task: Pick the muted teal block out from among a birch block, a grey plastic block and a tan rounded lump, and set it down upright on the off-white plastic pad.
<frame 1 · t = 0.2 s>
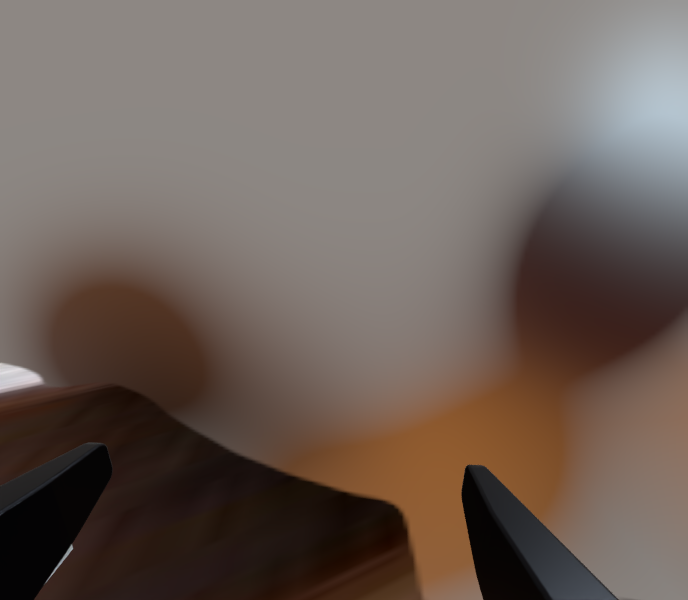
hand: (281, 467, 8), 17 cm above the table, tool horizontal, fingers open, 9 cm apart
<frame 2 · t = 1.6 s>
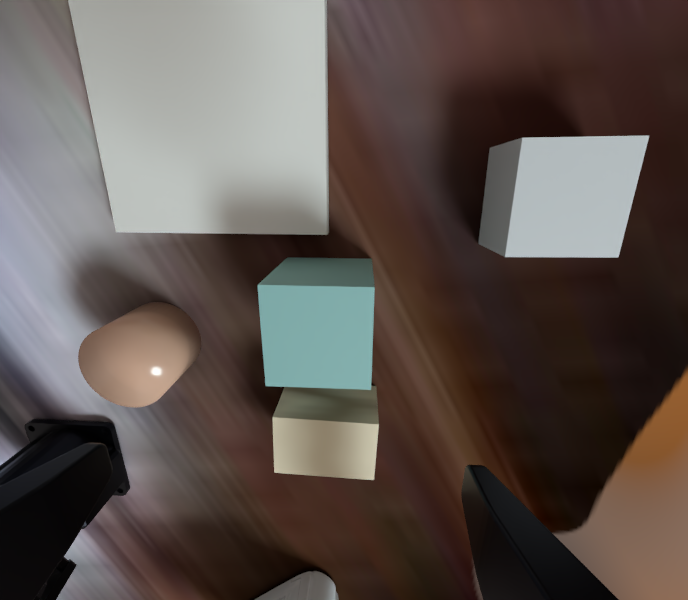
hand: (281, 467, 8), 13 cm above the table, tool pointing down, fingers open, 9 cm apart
photo printer: (287, 595, 30), on the table
birch block: (330, 407, 23), on the table
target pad: (214, 116, 18), on the table
tan rounded lump: (164, 337, 22), on the table
teal block: (329, 297, 21), on the table
grey block: (529, 197, 18), on the table
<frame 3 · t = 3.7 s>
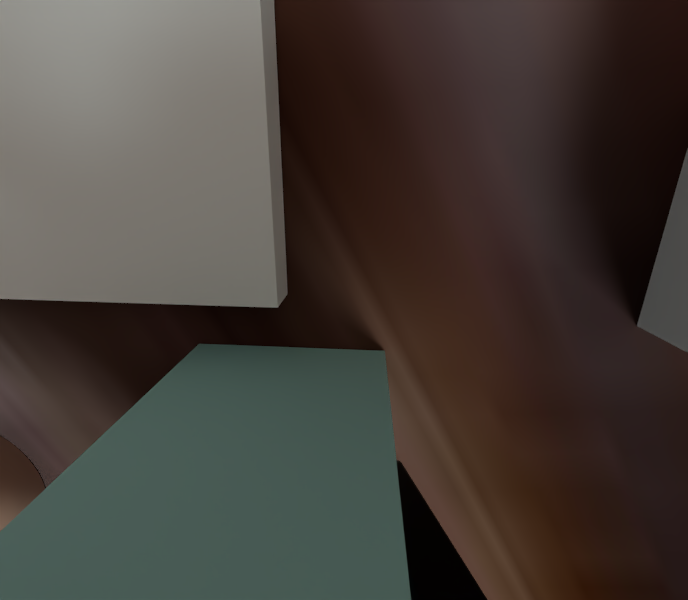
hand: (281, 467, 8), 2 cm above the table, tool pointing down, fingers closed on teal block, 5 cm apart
teal block: (294, 424, 10), on the table, touching gripper
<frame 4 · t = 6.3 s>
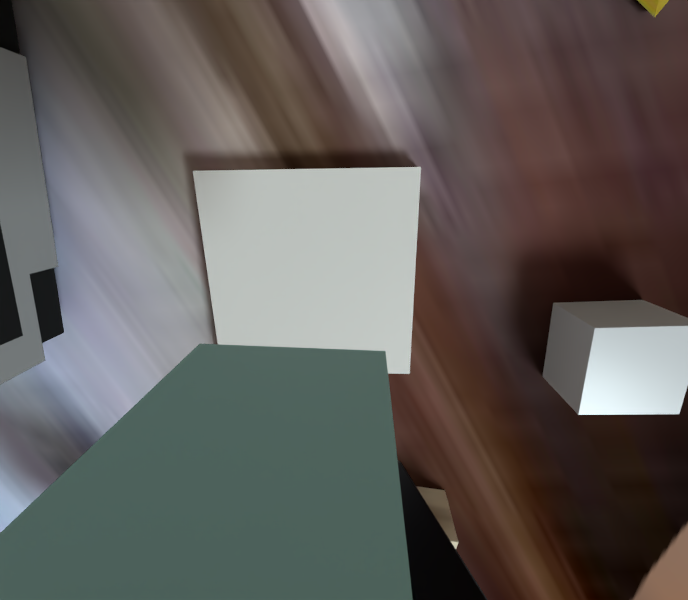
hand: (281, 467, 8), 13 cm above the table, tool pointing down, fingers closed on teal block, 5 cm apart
birch block: (400, 503, 26), on the table
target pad: (312, 275, 20), on the table
teal block: (294, 424, 10), point 12 cm above the table, touching gripper
grey block: (588, 339, 21), on the table
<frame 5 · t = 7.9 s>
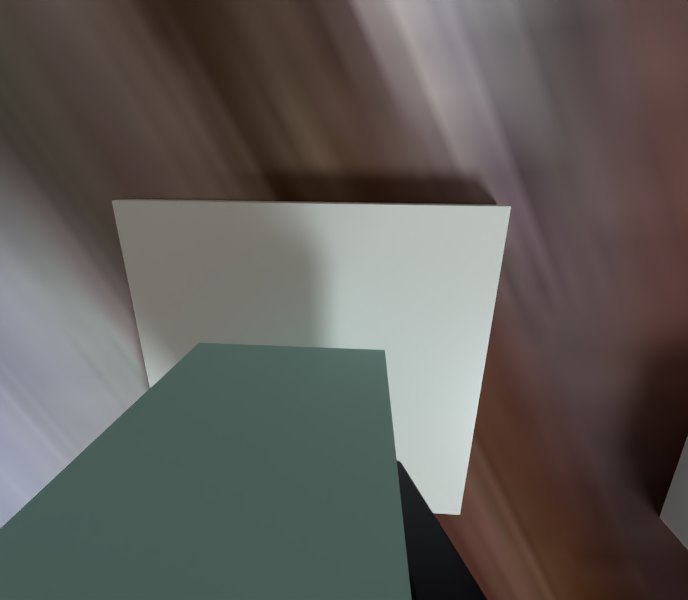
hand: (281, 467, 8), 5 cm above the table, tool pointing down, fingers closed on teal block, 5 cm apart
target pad: (313, 364, 13), on the table
teal block: (293, 424, 10), point 3 cm above the table, touching gripper
when the fingers open (3 cm above the table, at t = 9.0 s): teal block stays where it is, resting on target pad.
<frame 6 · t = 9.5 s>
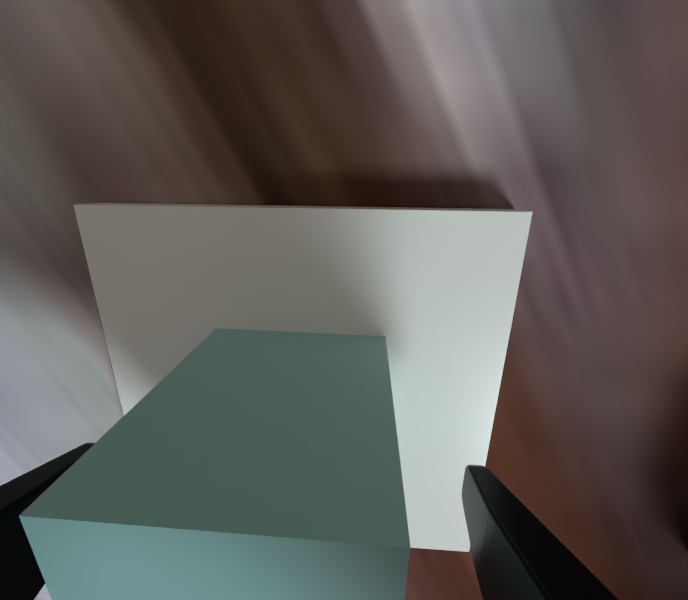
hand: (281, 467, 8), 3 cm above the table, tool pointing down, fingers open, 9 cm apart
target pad: (306, 386, 12), on the table
teal block: (301, 404, 11), point 1 cm above the table, touching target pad
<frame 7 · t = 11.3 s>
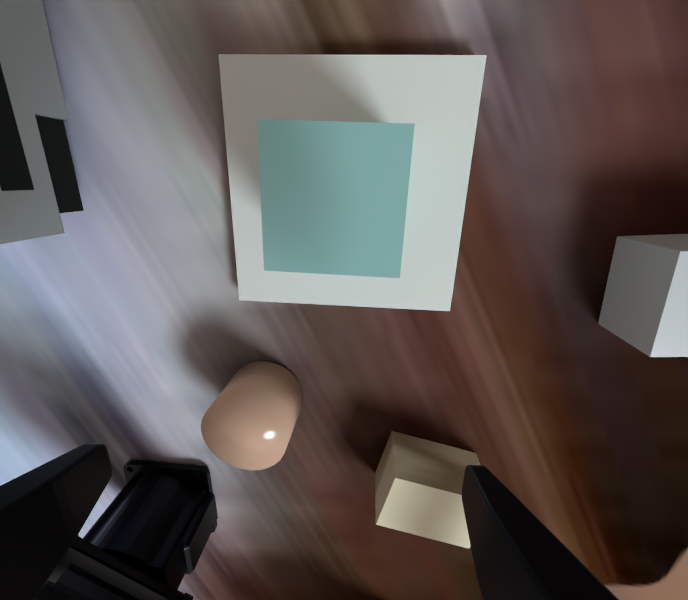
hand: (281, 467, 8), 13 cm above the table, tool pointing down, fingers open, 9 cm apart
birch block: (423, 461, 24), on the table
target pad: (346, 194, 18), on the table
tan rounded lump: (267, 393, 23), on the table
teal block: (345, 195, 17), point 1 cm above the table, touching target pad
grey block: (654, 279, 18), on the table
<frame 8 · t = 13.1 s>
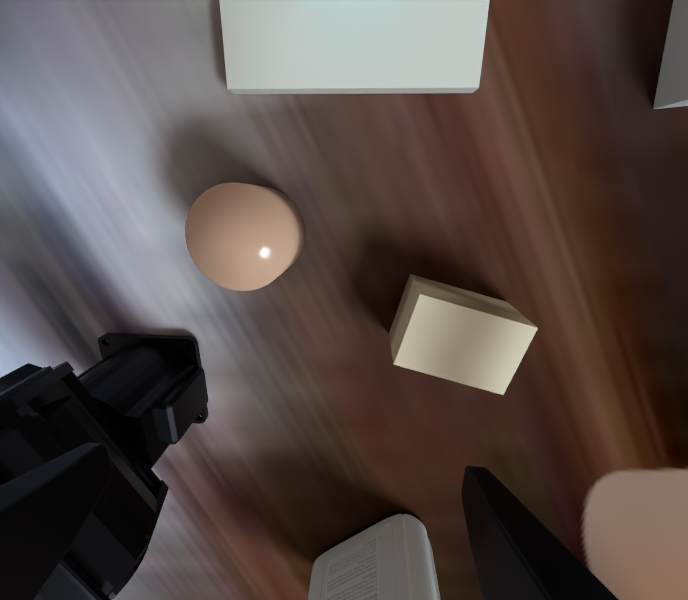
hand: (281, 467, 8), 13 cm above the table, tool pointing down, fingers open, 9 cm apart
photo printer: (369, 543, 27), on the table
birch block: (445, 317, 21), on the table
tan rounded lump: (262, 231, 20), on the table
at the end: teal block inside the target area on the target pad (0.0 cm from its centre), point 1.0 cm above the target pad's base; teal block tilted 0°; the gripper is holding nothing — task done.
